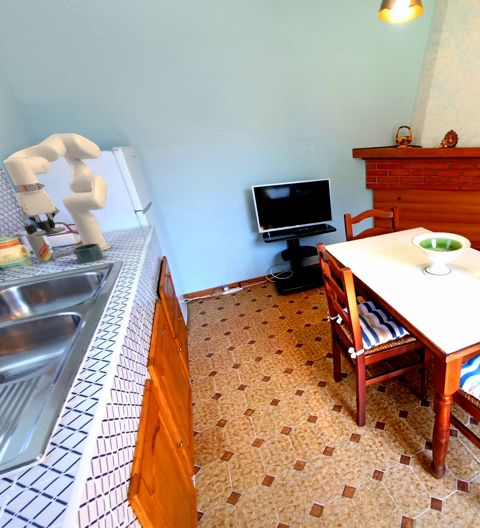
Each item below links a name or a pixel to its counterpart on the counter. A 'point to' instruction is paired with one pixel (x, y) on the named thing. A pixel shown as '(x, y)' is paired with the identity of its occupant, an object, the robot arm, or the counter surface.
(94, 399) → the counter surface
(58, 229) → the lid
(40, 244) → the lotion bottle
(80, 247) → the pot
